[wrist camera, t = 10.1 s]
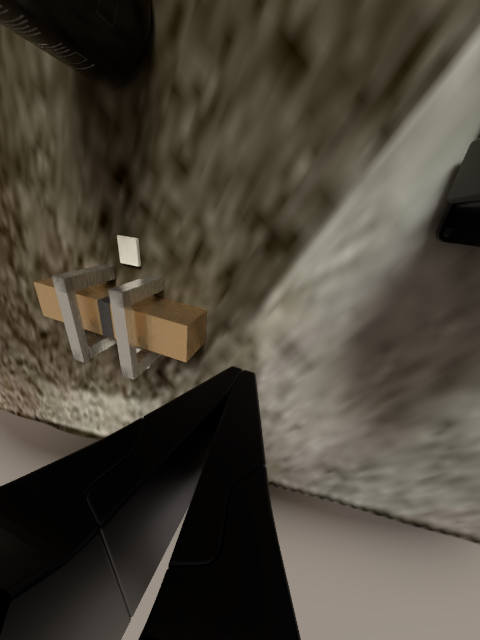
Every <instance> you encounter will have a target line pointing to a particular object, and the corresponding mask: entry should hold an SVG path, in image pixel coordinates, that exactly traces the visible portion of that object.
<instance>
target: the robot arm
mask: <svg viewBox="0 0 480 640" xmlns="http://www.w3.org/2000/svg"><path fill="white" fill-rule="evenodd" d="M446 199H447V202H448V203H449V205H448V207H447V209H446V211H445V214H444V216H443V218H442V220H441V222H440V224H439V227H438V229H437V231H436V238H437V239H438V240H439V241H442V242H449V243H457V244H465V245H472V246H480V137H479V138H478V139H476V140H475V141H473V142H472V143H471V144H470V146H469V149H468V151H467V153H466V155H465V158H464V160H463V162H462V164H461V166H460V169H459V171H458V173H457V175H456V177H455V180H454V182H453V184H452V186H451V189H450V191H449V193H448V195H447V197H446ZM449 228H451V229H452V233H451V235H449V236H448V237H445V235H444V233H445V231H446V230H447V229H449ZM265 465H266V462H265V453H264V444H263V436H262V427H261V418H260V409H259V400H258V392H257V383H256V375H255V373H254V372H250V371H247V370H244V371H243V370H242V369H240V368H237V367H233V366H232V367H230V368H228V369H226V370H224V371H223V372H221V373H219V374H217V375H216V376H214V377H212V378H210V379H209V380H207V381H205V382H203V383H202V384H200V385H198V386H196V387H195V388H193V389H191V390H189V391H187V392H186V393H184V394H182V395H180V396H179V397H177V398H175V399H173V400H172V401H170V402H168V403H166V404H165V405H163V406H161V407H159V408H158V409H156V410H154V411H152V412H150V413H149V414H147V415H145V416H144V417H143V418H140V419H138V420H136V421H134V422H133V423H131V424H129V425H127V426H125V427H124V428H122V429H120V430H118V431H116V432H114V433H112V434H111V435H109V436H107V437H105V438H103V439H101V440H99V441H97V442H95V443H93V444H91V445H89V446H87V447H84V448H82V449H80V450H78V451H76V452H74V453H72V454H70V455H68V456H65V457H63V458H61V459H59V460H57V461H55V462H53V463H51V464H48V465H46V466H44V467H42V468H40V469H38V470H35V471H34V472H31V473H29V474H27V475H25V476H23V477H20V478H18V479H16V480H14V481H12V482H10V483H7V484H5V485H3V486H0V640H121V639H122V636H123V635H124V633H125V631H126V629H127V627H128V625H129V623H130V620H131V617H132V616H133V615H134V613H135V611H136V609H137V607H138V605H139V603H140V601H141V599H142V597H143V595H144V593H145V591H146V589H147V587H148V585H149V583H150V581H151V579H152V577H153V575H154V573H155V571H156V569H157V567H158V565H159V563H160V561H161V559H162V557H163V555H164V553H165V552H166V550H167V548H168V546H169V544H170V542H171V540H172V538H173V536H174V534H175V531H176V530H177V528H178V526H179V524H180V522H181V520H182V518H183V516H184V514H185V512H186V510H187V508H188V506H189V504H190V506H189V508H188V511H187V514H186V517H185V520H184V523H183V525H182V528H181V531H180V534H179V537H178V539H177V542H176V545H175V548H174V551H173V554H172V557H171V559H170V562H169V568H168V569H167V571H166V574H165V576H164V579H163V582H162V584H161V587H160V590H159V592H158V595H157V597H156V600H155V602H154V605H153V608H152V610H151V612H150V615H149V617H148V620H147V622H146V624H145V626H144V629H143V631H142V633H141V636H140V638H139V640H301V639H300V634H299V630H298V626H297V621H296V617H295V612H294V608H293V603H292V600H291V595H290V591H289V586H288V582H287V577H286V573H285V569H284V564H283V560H282V555H281V551H280V546H279V542H278V537H277V532H276V528H275V522H274V517H273V512H272V507H271V500H270V493H269V486H268V478H267V469H266V467H265ZM190 502H191V503H190Z"/></svg>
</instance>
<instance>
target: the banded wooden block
mask: <svg viewBox="0 0 480 640" xmlns="http://www.w3.org/2000/svg"><path fill="white" fill-rule="evenodd" d="M34 285H35V288H36V291H37V295H38V298H39V302H40V305H41V309H42V312H43V315H44V316H46V317H49V318H53V319H56V320H59V321H62V322H64V320H63V316H62V312H61V309H60V305H59V301H58V298H57V294H56V290H55V287H54V283H53V279H52V278H48V279H44V280H39V281H35V282H34ZM114 287H117V286H114V285H110V284H107V283H100V284H96V285H93V286H90V287H86V288H83V289H80V290H76V291H75V292H76V296H77V301H78V305H79V309H80V314H81V318H82V322H83V327H84V329H86V330H89V331H92V332H95V333H98V334H101V335H103V336H105V337H108V338H111V339H116V334H115V328H114V322H113V316H112V309H111V303H110V297H109V291H108V289H111V288H114ZM131 310H132V319H133V327H134V335H135V344H136V346H137V347H141V348H144V349H147V350H150V351H153V352H156V353H159V354H162V355H165V356H168V357H171V358H174V359H177V360H180V361H183V362H187V361H188V360H189V359H190V358H191V357H192V356H193V355H194V354H195V353H196V352H197V351H198V349H199V348H200V347H201V346H202V345H203V344H204V343H205V333H206V319H207V310H205V309H201V308H197V307H193V306H190V305H186V304H182V303H178V302H175V301H171V300H167V299H163V298H159V297H156V296H149V297H147V298H145V299H143V300H141V301H138V302H136V303H134V304H132V305H131Z"/></svg>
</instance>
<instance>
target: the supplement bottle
mask: <svg viewBox="0 0 480 640" xmlns="http://www.w3.org/2000/svg"><path fill="white" fill-rule="evenodd" d="M0 24H2V25H3V26H5V27H6V28H8V29H10V30H11V31H13V32H14V33H16V34H18V35H19V36H21V37H22V38H24V39H26V40H27V41H29V42H30V43H32V44H34V45H35V46H37V47H38V48H40V49H42V50H43V51H45V52H46V53H48V54H50V55H51V56H53V57H54V58H56V59H58V60H59V61H61V62H62V63H64V64H66V65H67V66H69V67H70V68H72V69H74V70H75V71H77V72H78V73H80V74H82V75H84V76H85V77H87V78H89V79H90V80H92V81H94V82H96V83H98V84H100V85H104V86H117V85H120V84H123V83H124V82H126V81H127V80H129V79H130V78H131V77H132V76H133V75H134V74H135V73H136V71H137V70H138V68H139V67H140V65H141V63H142V61H143V58H144V56H145V53H146V50H147V46H148V41H149V35H150V26H151V6H150V0H0Z"/></svg>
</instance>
